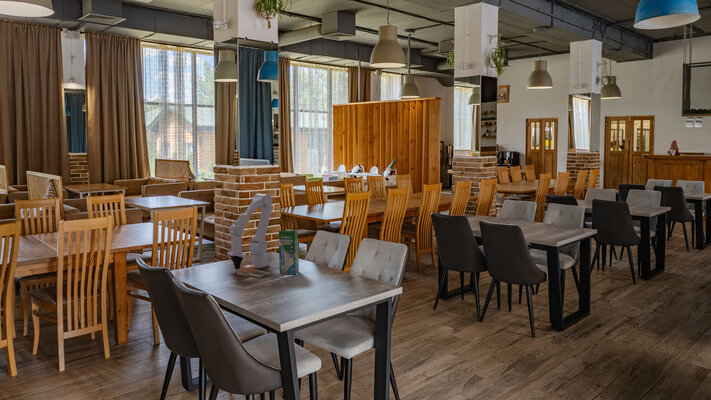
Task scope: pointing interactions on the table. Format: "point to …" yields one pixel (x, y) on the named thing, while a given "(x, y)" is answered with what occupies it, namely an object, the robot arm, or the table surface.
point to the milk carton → (288, 252)
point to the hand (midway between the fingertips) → (237, 269)
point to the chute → (254, 274)
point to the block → (248, 269)
